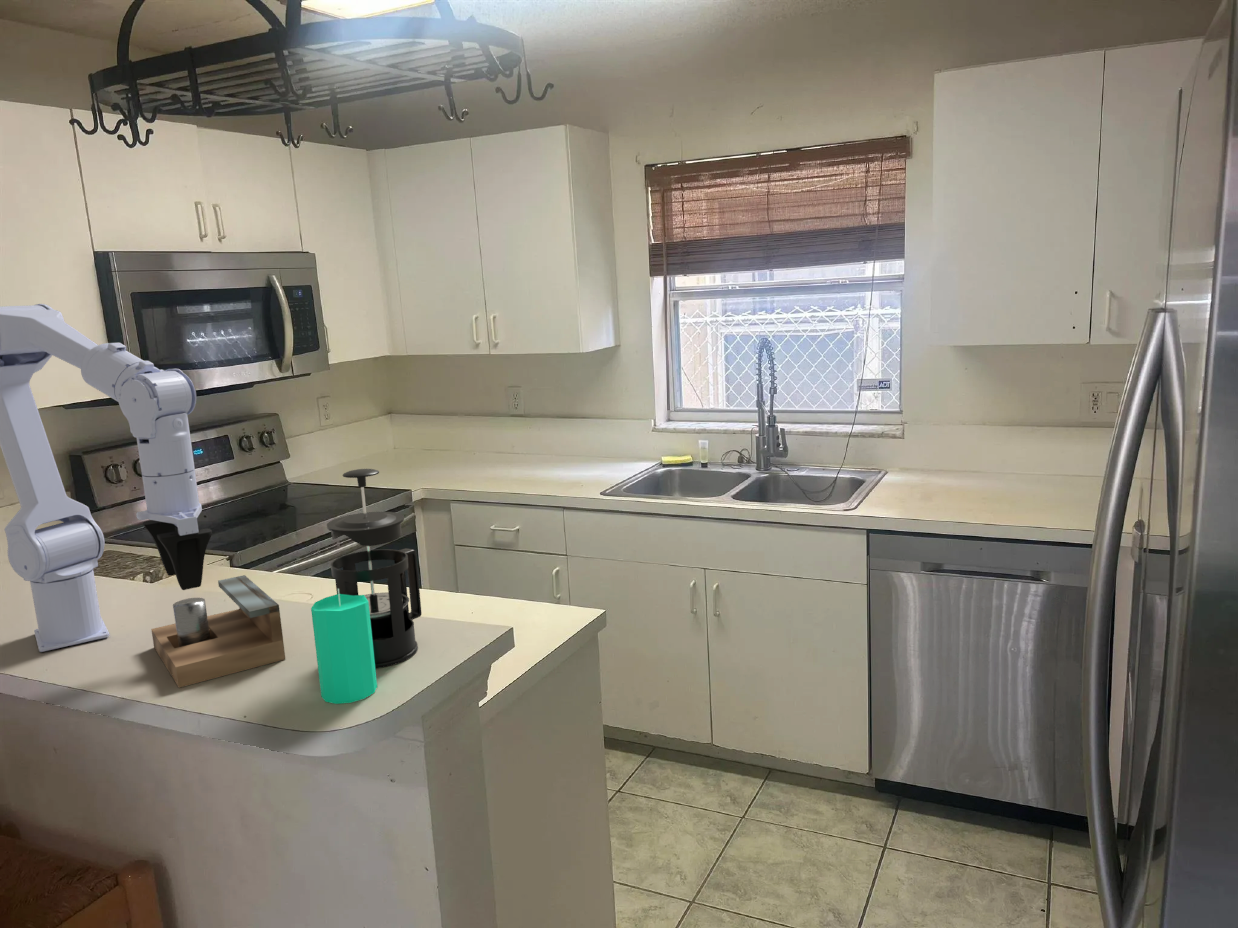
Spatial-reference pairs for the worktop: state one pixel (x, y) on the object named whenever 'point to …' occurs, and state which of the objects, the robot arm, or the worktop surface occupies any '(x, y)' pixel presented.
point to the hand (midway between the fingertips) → (183, 580)
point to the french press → (380, 577)
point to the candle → (344, 648)
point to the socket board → (226, 637)
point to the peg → (191, 621)
